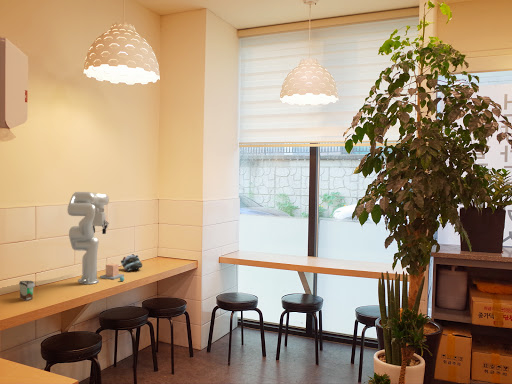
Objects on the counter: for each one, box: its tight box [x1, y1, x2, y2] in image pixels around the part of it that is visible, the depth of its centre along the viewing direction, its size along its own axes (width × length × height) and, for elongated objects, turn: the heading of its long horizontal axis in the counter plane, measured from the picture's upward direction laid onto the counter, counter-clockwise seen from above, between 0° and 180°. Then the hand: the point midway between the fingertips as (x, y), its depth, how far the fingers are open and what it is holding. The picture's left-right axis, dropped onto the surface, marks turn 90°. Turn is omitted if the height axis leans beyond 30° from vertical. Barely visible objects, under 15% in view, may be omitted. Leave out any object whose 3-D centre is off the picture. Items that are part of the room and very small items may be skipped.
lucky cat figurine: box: [120, 254, 143, 273], centre depth 366 cm, size 15×12×14 cm
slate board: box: [99, 273, 125, 280], centre depth 341 cm, size 12×12×1 cm
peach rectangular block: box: [105, 262, 119, 277], centre depth 341 cm, size 6×6×8 cm
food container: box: [18, 280, 36, 302], centre depth 279 cm, size 12×6×10 cm, turn 48°
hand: (98, 233), depth 349 cm, fingers open, 9 cm apart
